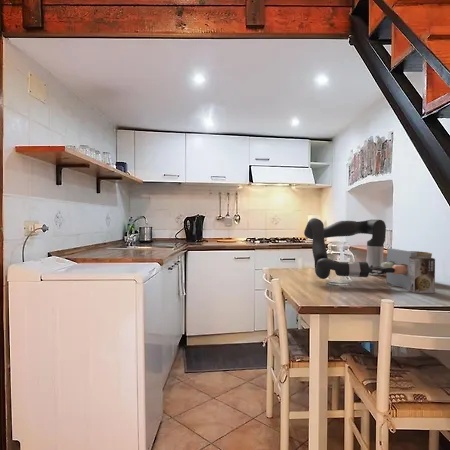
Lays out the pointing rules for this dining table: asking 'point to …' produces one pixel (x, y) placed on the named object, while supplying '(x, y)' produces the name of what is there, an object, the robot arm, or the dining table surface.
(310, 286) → the dining table surface
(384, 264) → the sage-green button
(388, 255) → the button panel
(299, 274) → the dining table surface
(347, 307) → the dining table surface
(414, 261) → the coffee box
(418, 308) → the dining table surface
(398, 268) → the terracotta button
